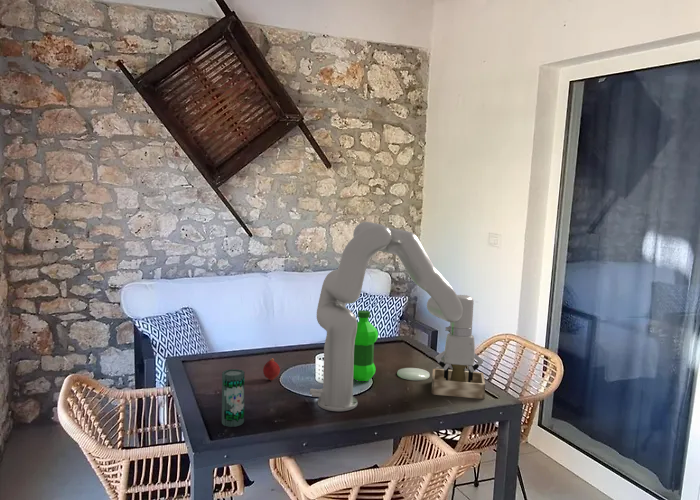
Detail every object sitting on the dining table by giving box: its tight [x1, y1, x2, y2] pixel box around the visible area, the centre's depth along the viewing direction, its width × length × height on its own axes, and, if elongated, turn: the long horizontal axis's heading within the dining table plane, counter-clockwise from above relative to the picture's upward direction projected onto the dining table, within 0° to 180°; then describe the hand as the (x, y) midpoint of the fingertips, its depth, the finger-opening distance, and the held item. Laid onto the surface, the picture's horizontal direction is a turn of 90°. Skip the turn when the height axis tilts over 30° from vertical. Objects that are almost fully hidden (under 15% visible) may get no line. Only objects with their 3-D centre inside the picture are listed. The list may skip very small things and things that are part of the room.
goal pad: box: [396, 367, 431, 382], centre depth 216 cm, size 12×12×1 cm
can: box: [221, 368, 245, 428], centre depth 168 cm, size 6×6×15 cm
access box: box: [430, 368, 486, 400], centre depth 201 cm, size 18×13×5 cm
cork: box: [450, 364, 467, 382], centre depth 201 cm, size 6×6×11 cm
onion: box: [262, 358, 281, 381], centre depth 205 cm, size 6×6×8 cm
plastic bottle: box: [353, 309, 379, 382], centre depth 207 cm, size 10×10×25 cm
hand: (457, 380), depth 201 cm, fingers open, 7 cm apart
